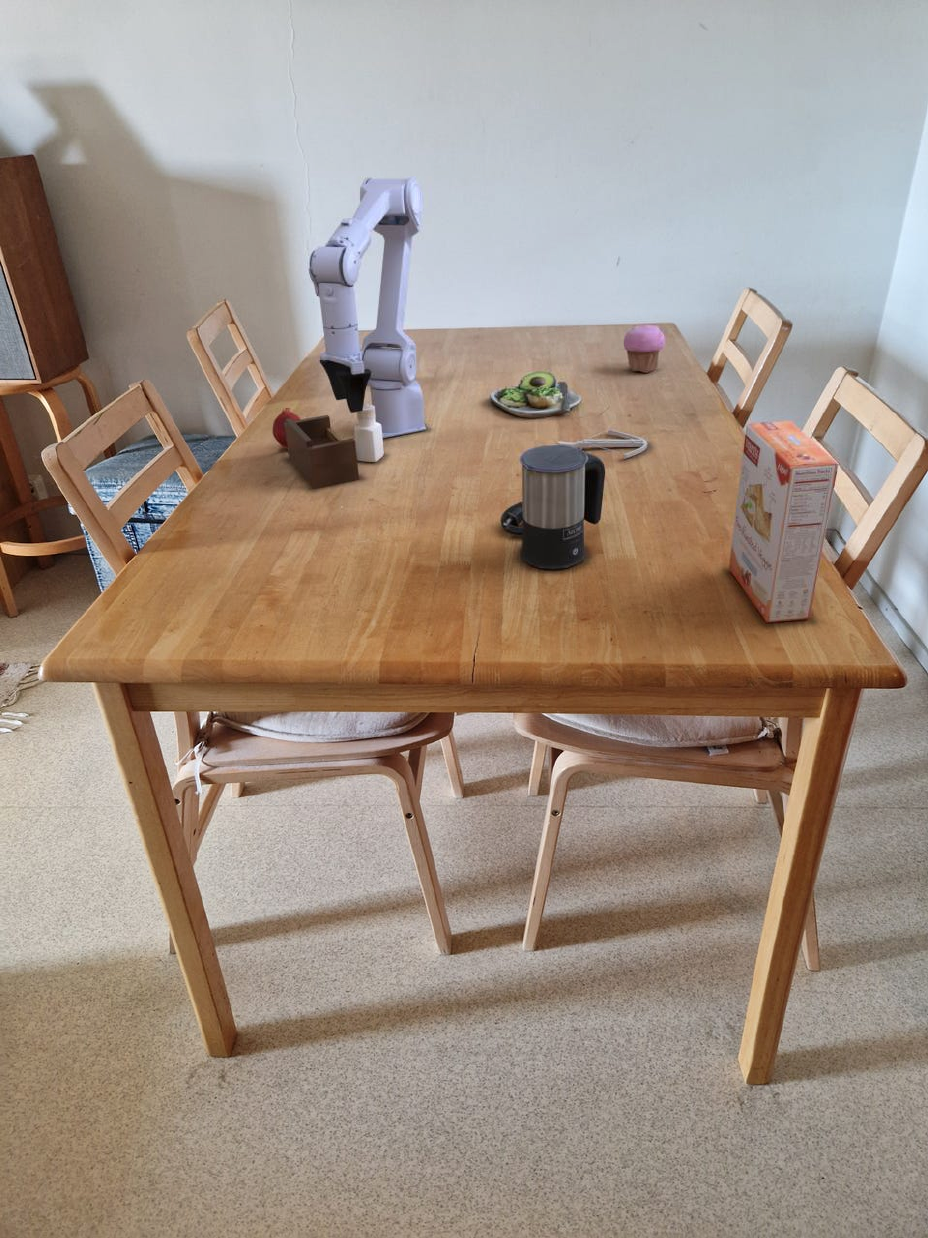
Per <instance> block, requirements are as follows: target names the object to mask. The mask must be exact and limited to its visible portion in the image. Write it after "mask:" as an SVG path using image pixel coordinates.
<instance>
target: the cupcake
mask: <svg viewBox="0 0 928 1238" xmlns="http://www.w3.org/2000/svg"><path fill="white" fill-rule="evenodd" d="M664 334H665V333H664V332H663V331H662V330H660V328H659V326H657V325H652V324H643V325H636V326H634V327H633V328H631V329H629V330H628V331H627V332H626V334H625V336H624V338H623V347H624V348H623V349H624V350H625V351H626V354H627V359H628V365H629V367H630V369H631V370H632V371H633V372H640V373H643V374H646V373H647V374H648V373H650V372H652V371H654V370H656V368H657V367H658V363H659V355H660V351H661V350H662V349H663V348H664V347H665V346H666V336H665V335H664Z"/></svg>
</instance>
